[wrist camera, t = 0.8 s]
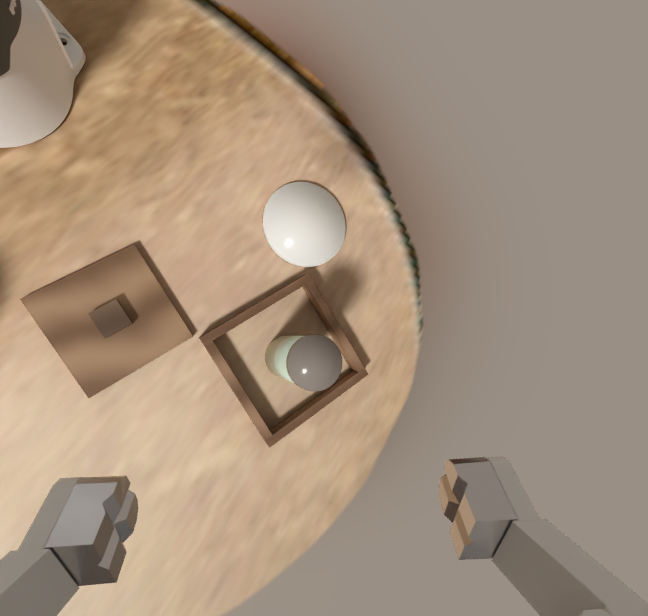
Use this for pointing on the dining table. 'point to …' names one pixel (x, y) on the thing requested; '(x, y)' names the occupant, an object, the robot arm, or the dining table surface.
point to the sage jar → (305, 360)
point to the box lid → (107, 319)
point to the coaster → (304, 224)
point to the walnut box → (317, 402)
